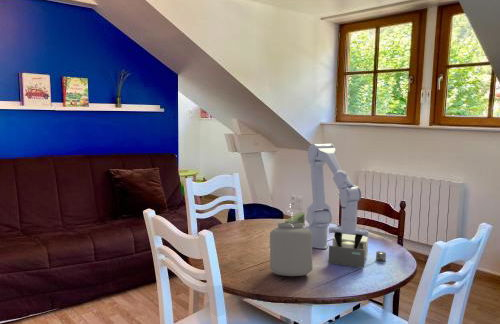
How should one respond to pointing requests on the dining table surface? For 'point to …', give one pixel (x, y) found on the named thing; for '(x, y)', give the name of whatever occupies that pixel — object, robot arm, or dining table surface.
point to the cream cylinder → (348, 244)
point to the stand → (380, 256)
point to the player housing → (351, 238)
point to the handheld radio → (297, 218)
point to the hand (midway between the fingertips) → (347, 252)
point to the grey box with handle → (346, 256)
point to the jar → (291, 249)
